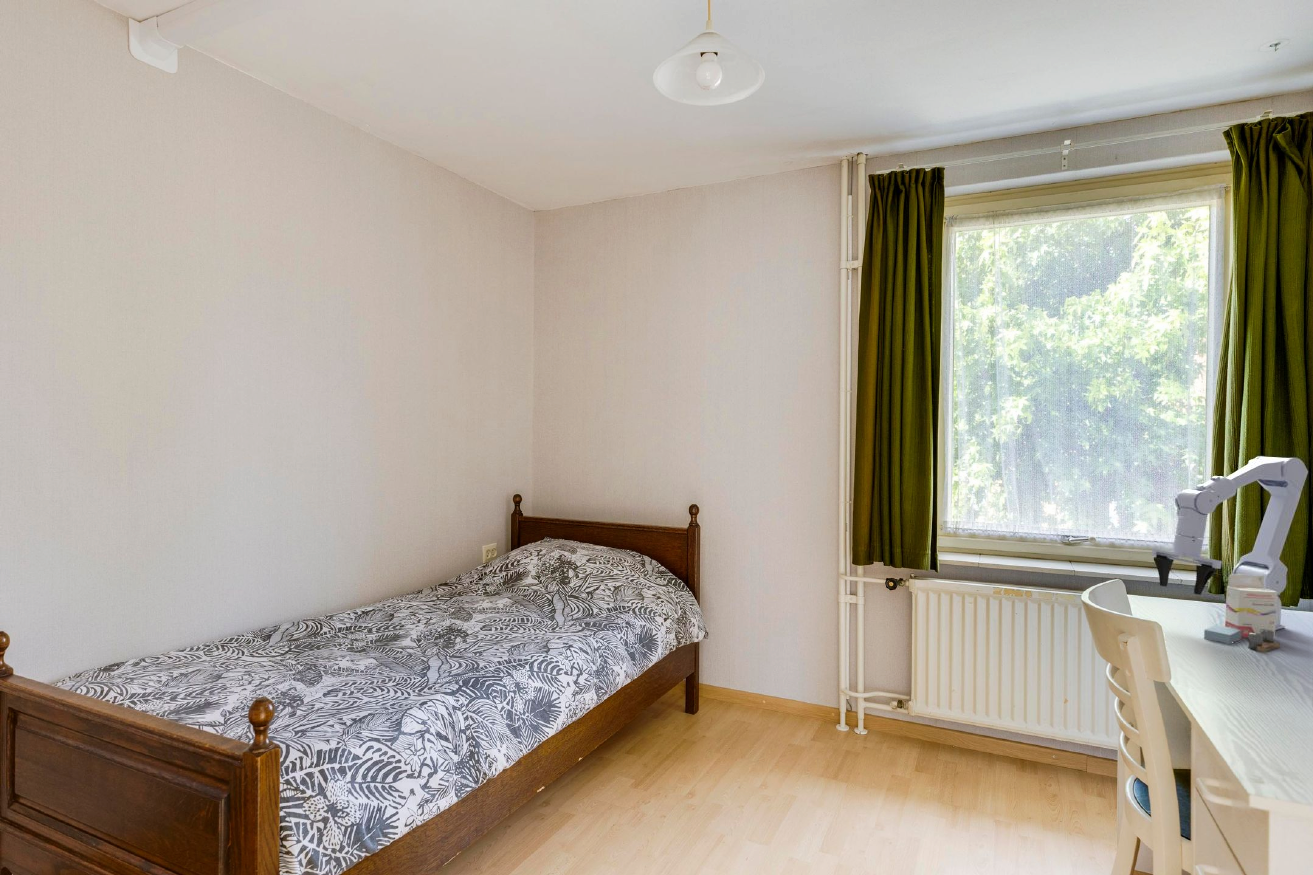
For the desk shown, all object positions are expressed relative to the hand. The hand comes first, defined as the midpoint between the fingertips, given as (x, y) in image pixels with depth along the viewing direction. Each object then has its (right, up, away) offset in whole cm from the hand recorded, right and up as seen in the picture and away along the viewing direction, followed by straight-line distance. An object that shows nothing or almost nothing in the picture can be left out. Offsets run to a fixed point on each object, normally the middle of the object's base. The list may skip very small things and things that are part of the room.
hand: (1180, 590), depth 179 cm
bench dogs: (+8, -10, -14) cm, 19 cm away
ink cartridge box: (+13, -10, -5) cm, 18 cm away
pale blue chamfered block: (+5, -10, -8) cm, 14 cm away
